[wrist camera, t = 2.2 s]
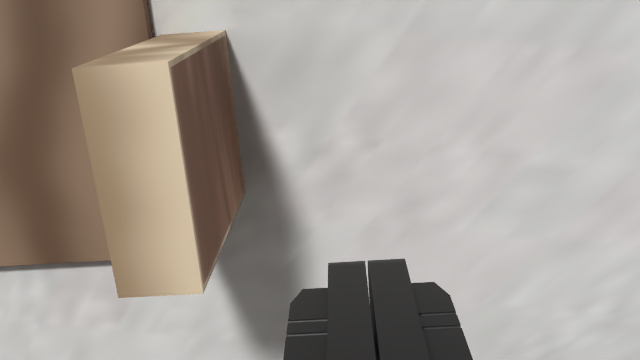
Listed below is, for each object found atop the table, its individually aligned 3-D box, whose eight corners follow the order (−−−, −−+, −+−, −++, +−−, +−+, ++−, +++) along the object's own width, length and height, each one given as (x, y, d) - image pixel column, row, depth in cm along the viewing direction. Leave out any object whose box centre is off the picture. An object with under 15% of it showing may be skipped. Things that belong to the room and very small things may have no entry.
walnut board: (141, -34, 27) (137, -34, 27) (186, 251, 32) (183, 256, 31) (-118, -13, 28) (-128, -13, 27) (-37, 263, 32) (-44, 268, 32)
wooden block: (225, 30, 28) (167, 61, 19) (245, 193, 31) (203, 293, 21) (161, 34, 28) (71, 68, 19) (186, 196, 31) (118, 297, 21)
